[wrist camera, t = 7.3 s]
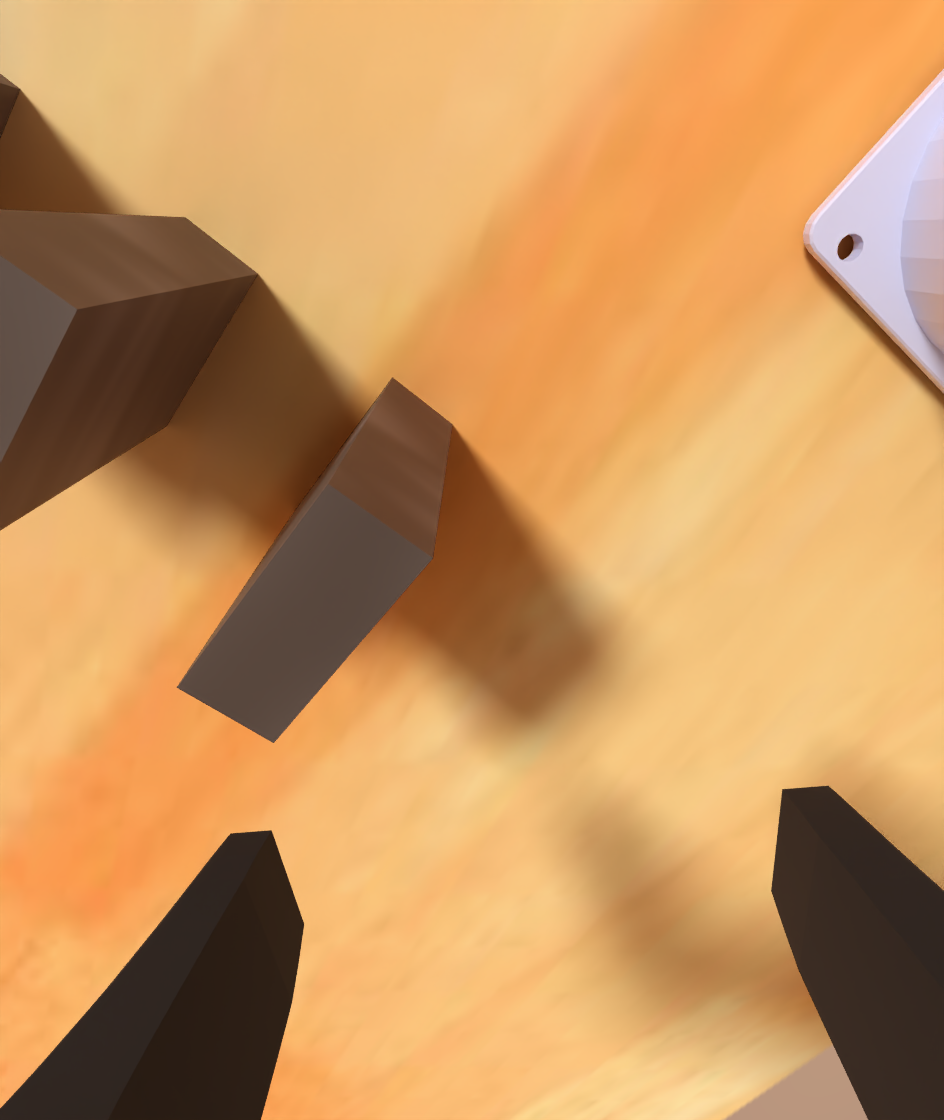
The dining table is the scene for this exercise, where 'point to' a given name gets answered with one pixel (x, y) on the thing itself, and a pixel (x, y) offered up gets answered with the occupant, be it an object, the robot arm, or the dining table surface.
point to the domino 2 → (330, 568)
